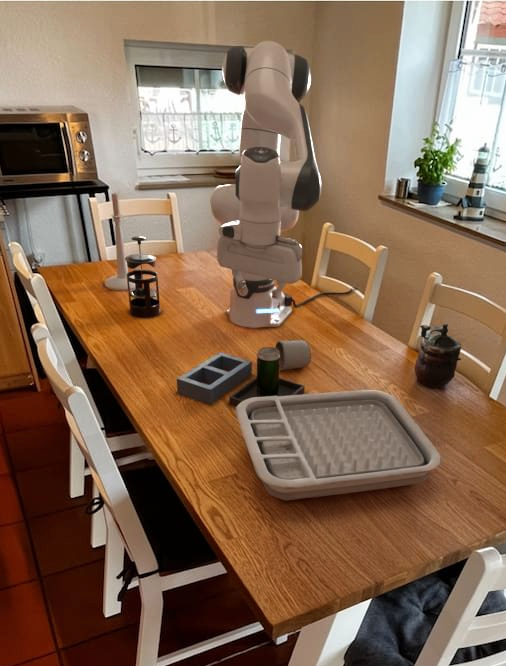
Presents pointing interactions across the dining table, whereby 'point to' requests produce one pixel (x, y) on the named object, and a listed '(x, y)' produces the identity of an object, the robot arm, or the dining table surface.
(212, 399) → the frame
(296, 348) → the ceramic mug
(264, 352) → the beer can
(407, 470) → the dish rack
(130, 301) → the french press
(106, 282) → the candlestick
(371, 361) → the dining table surface
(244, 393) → the tray
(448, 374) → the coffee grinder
